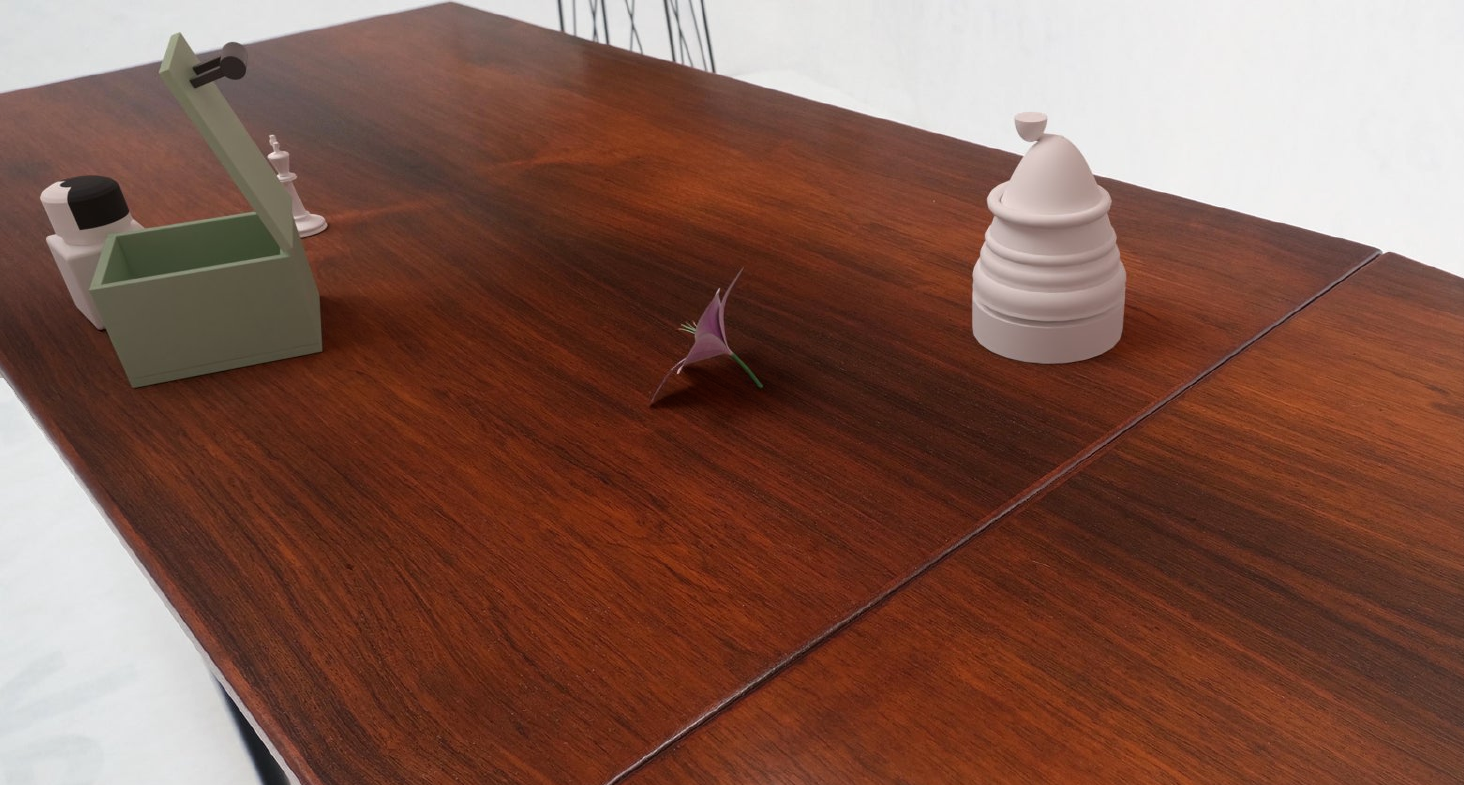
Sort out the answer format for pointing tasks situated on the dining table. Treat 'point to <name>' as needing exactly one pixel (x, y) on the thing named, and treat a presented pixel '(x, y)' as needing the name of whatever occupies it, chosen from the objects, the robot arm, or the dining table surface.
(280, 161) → the chess piece
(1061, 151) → the honey pot
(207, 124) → the box lid
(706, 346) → the lily
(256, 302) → the green box
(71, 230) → the medicine bottle
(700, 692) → the dining table surface
